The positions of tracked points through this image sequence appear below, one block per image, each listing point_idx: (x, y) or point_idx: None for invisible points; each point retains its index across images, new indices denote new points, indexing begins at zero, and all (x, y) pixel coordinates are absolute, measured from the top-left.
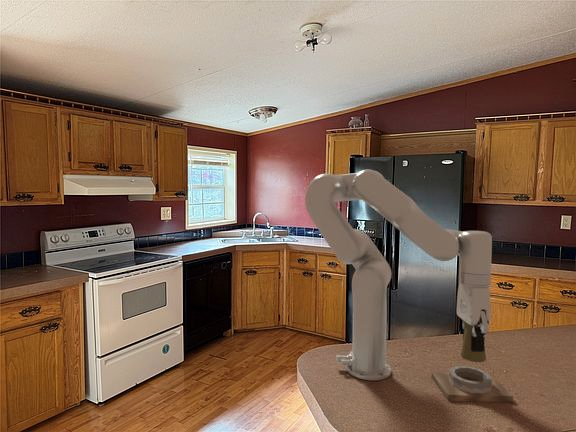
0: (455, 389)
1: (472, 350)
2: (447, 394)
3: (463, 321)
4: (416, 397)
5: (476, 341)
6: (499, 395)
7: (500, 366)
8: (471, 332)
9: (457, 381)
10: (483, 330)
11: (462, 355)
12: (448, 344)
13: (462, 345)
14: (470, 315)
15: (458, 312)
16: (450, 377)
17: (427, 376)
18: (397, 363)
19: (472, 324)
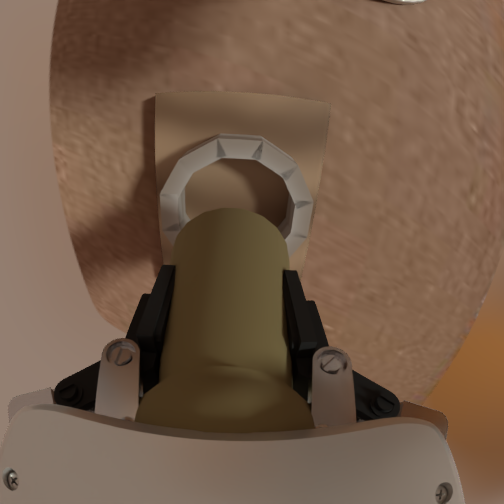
0: (193, 132)
1: (163, 269)
2: (163, 93)
3: (242, 420)
4: (187, 5)
5: (130, 326)
6: (164, 253)
7: (348, 328)
8: (170, 362)
9: (200, 146)
10: (18, 400)
11: (224, 213)
12: (471, 267)
13: (255, 249)
14: (9, 492)
15: (389, 468)
16: (247, 137)
17: (335, 93)
18: (425, 52)
19: (18, 411)
